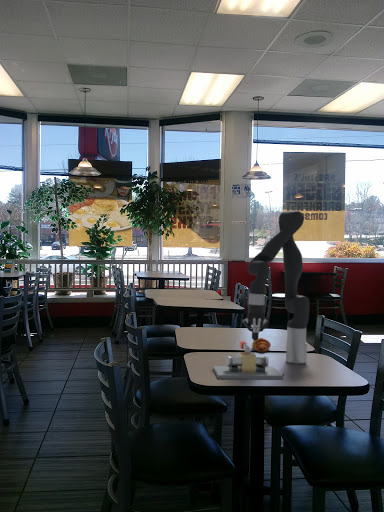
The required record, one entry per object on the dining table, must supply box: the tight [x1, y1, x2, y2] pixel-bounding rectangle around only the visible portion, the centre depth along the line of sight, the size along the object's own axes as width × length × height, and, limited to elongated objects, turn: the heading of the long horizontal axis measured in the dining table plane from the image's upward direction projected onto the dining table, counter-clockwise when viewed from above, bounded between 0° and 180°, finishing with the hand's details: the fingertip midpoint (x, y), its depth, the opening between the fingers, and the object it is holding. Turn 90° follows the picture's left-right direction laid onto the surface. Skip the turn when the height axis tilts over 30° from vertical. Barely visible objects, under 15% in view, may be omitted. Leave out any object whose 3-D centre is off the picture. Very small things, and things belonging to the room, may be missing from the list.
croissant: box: [251, 337, 271, 353], centre depth 255 cm, size 21×10×8 cm, turn 176°
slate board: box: [212, 365, 284, 380], centre depth 202 cm, size 28×15×2 cm, turn 96°
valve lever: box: [239, 340, 252, 354], centre depth 208 cm, size 14×3×3 cm, turn 6°
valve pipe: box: [226, 351, 269, 373], centre depth 202 cm, size 18×6×8 cm, turn 96°
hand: (254, 340), depth 214 cm, fingers closed
